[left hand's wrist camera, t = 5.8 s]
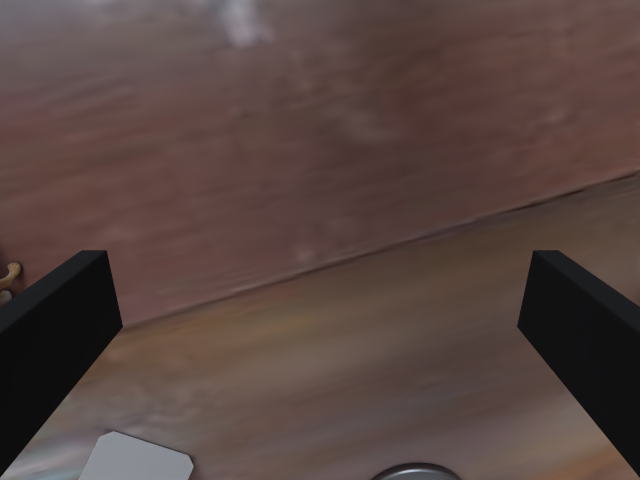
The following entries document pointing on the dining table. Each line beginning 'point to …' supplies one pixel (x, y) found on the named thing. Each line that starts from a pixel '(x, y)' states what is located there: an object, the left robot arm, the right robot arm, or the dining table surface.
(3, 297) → the lion figurine
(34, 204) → the dining table surface
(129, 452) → the electronic device
